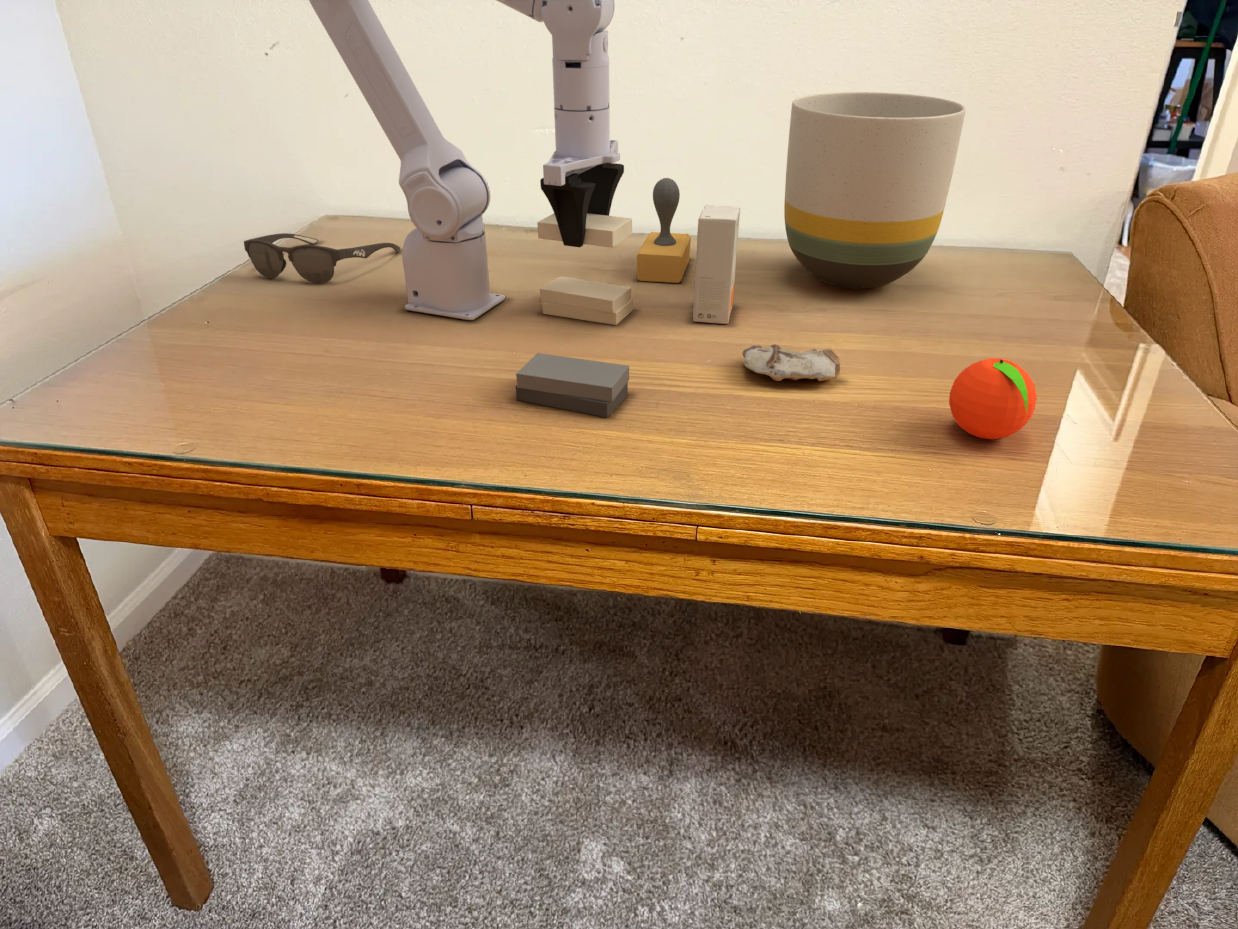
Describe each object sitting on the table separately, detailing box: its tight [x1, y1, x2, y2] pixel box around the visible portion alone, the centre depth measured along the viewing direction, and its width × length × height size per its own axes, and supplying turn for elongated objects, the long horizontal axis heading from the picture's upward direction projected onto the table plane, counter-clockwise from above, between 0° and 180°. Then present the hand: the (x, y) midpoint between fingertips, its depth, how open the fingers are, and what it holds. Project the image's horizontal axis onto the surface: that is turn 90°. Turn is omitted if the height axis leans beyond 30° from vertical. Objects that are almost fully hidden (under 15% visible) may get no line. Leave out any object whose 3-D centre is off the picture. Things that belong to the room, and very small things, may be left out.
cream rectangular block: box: [536, 213, 633, 249], centre depth 94 cm, size 9×6×2 cm, turn 67°
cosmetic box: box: [692, 204, 741, 325], centre depth 97 cm, size 6×4×12 cm
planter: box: [783, 91, 967, 290], centre depth 104 cm, size 20×20×21 cm
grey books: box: [515, 352, 630, 418], centre depth 80 cm, size 10×6×3 cm, turn 67°
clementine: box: [948, 357, 1038, 440], centre depth 72 cm, size 8×7×7 cm
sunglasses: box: [243, 232, 401, 284], centre depth 115 cm, size 16×17×5 cm
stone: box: [741, 343, 841, 382], centre depth 85 cm, size 10×7×3 cm
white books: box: [539, 275, 634, 326], centre depth 100 cm, size 10×6×3 cm, turn 67°
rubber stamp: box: [636, 177, 692, 284], centre depth 110 cm, size 10×6×12 cm, turn 169°
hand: (584, 238), depth 94 cm, fingers closed on cream rectangular block, 5 cm apart
